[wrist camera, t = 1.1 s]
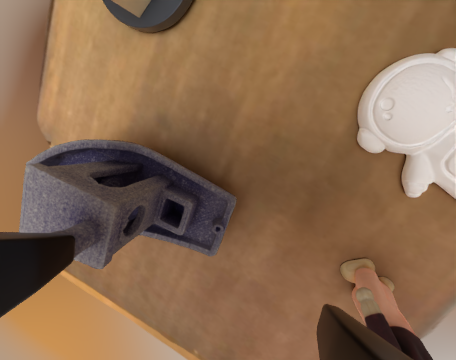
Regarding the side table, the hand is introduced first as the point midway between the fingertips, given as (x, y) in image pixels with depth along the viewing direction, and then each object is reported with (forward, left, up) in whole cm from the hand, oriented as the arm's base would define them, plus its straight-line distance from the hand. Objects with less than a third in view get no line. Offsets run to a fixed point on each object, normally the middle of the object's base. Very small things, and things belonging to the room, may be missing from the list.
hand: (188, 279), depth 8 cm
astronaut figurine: (-14, -1, -14) cm, 20 cm away
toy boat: (+9, -1, -14) cm, 17 cm away
